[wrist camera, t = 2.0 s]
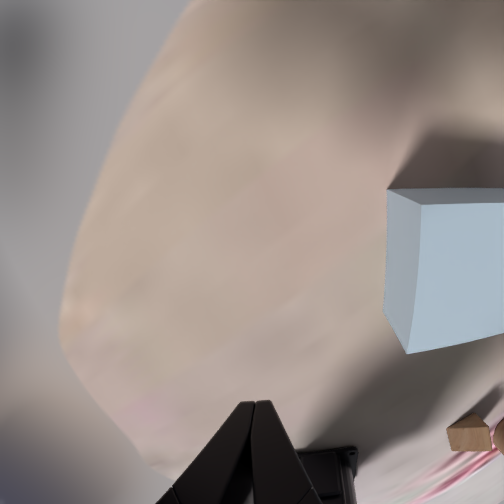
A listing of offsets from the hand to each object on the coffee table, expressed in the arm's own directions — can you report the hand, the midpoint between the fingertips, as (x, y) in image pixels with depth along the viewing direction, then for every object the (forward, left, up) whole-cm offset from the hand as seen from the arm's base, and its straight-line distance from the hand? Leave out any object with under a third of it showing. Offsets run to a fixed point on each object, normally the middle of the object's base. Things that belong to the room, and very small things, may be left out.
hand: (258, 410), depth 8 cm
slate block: (0, -11, -10) cm, 15 cm away
